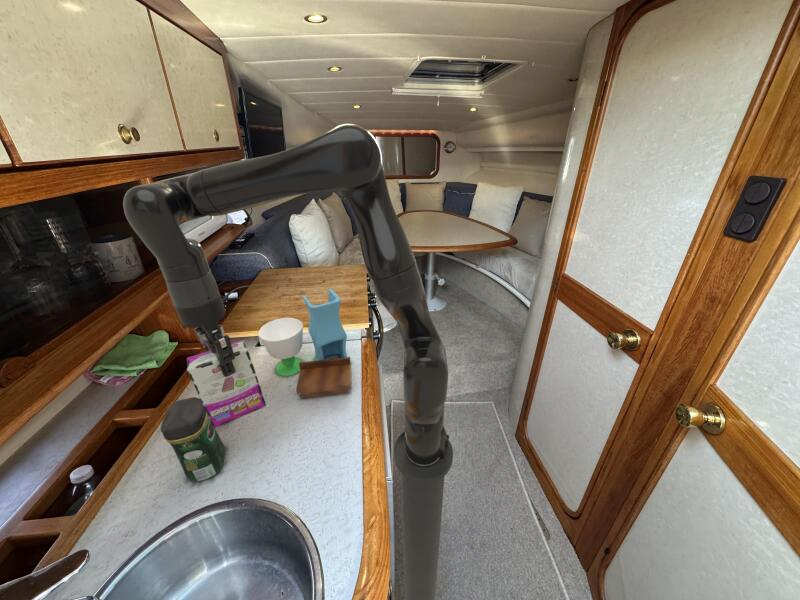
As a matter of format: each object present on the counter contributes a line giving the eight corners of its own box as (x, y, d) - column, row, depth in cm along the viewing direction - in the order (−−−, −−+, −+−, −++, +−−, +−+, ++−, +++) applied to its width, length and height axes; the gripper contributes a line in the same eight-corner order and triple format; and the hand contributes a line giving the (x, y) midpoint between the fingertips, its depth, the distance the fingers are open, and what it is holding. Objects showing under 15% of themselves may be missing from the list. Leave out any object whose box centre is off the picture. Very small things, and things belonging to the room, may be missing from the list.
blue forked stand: (339, 349, 116) (331, 288, 104) (350, 364, 108) (342, 300, 97) (313, 358, 112) (302, 295, 100) (322, 374, 104) (310, 308, 92)
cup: (274, 387, 99) (263, 346, 92) (264, 363, 109) (253, 325, 102) (316, 370, 106) (308, 331, 98) (303, 350, 116) (295, 313, 108)
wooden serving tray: (351, 372, 105) (349, 357, 102) (351, 394, 96) (349, 378, 93) (302, 377, 103) (299, 362, 100) (298, 400, 94) (294, 384, 91)
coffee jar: (193, 452, 79) (166, 398, 70) (227, 443, 81) (205, 389, 73) (183, 488, 71) (151, 432, 62) (222, 477, 73) (196, 421, 65)
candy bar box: (262, 393, 76) (245, 338, 68) (267, 406, 72) (249, 349, 65) (211, 414, 71) (185, 356, 63) (213, 429, 67) (186, 370, 60)
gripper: (233, 300, 56) (256, 373, 64) (203, 280, 65) (227, 346, 73) (187, 317, 51) (218, 394, 59) (161, 292, 60) (191, 362, 68)
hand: (223, 367), depth 66 cm, fingers closed on candy bar box, 5 cm apart
